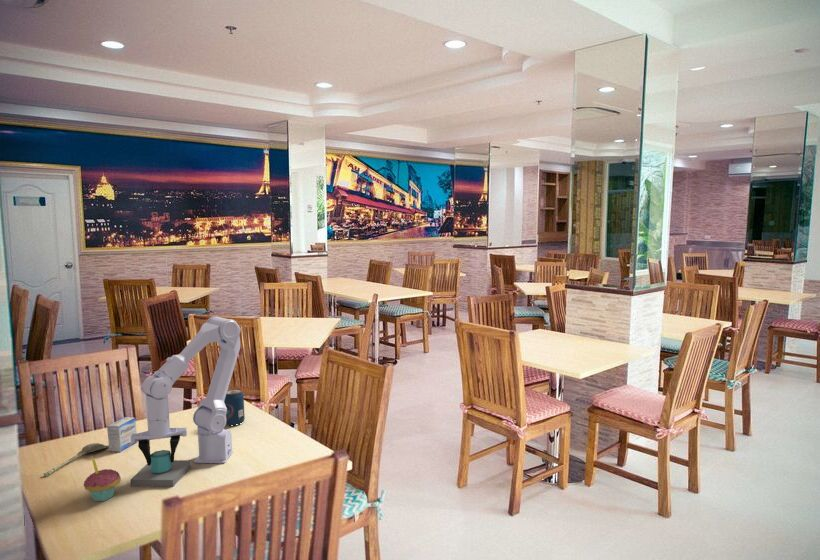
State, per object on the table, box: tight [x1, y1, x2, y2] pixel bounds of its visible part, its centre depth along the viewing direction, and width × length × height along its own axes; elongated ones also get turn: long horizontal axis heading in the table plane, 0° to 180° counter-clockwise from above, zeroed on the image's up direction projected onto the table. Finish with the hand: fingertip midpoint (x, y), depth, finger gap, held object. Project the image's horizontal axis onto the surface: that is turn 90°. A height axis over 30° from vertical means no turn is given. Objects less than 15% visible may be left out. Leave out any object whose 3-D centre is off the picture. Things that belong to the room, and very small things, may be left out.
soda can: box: [224, 388, 246, 426], centre depth 197 cm, size 7×7×12 cm
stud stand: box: [129, 459, 192, 488], centre depth 158 cm, size 12×12×6 cm
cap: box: [150, 449, 171, 473], centre depth 157 cm, size 5×5×4 cm
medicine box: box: [106, 416, 138, 453], centre depth 177 cm, size 8×4×9 cm, turn 168°
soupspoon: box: [43, 442, 108, 478], centre depth 168 cm, size 22×3×7 cm
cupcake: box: [83, 455, 122, 502], centre depth 146 cm, size 9×8×12 cm
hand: (161, 462), depth 157 cm, fingers closed on cap, 5 cm apart
